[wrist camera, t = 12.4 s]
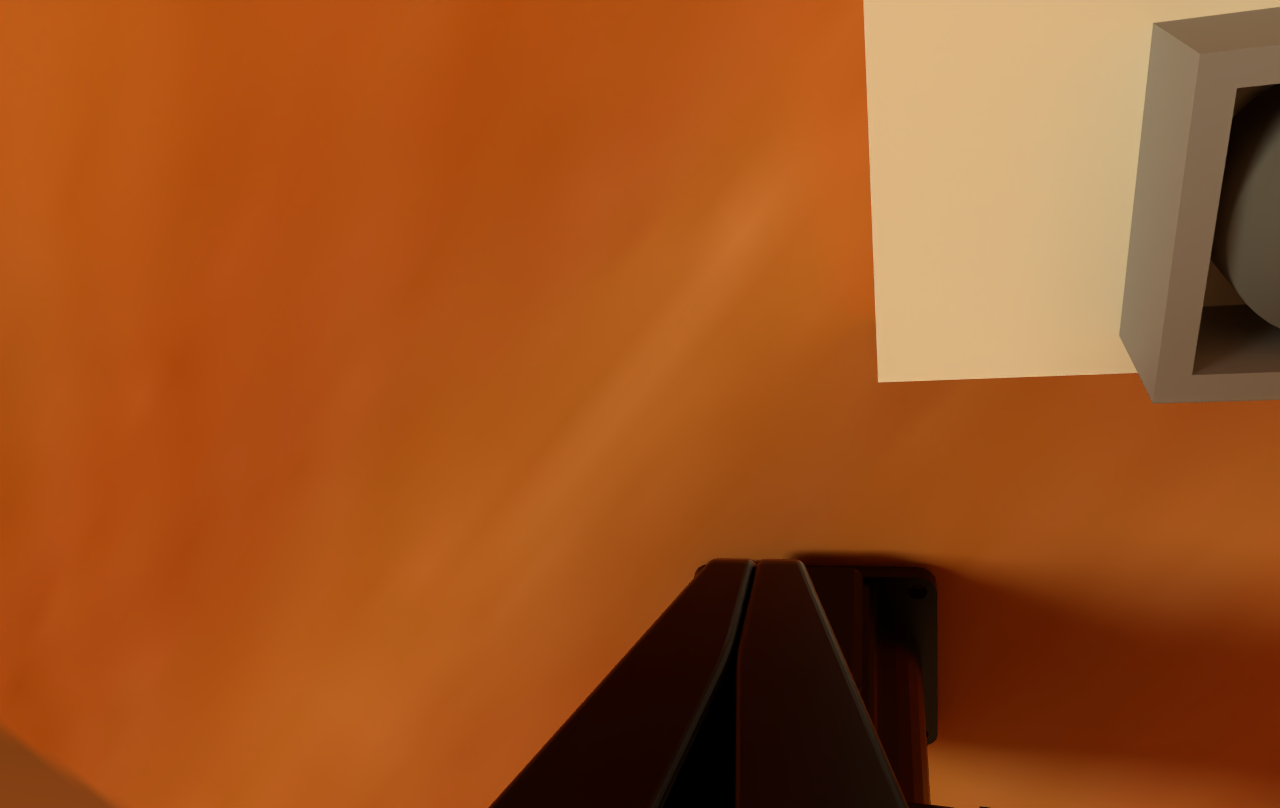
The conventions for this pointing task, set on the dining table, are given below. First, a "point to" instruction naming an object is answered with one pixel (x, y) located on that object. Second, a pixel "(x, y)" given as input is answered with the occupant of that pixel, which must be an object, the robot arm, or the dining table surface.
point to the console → (1063, 190)
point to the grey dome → (1252, 207)
